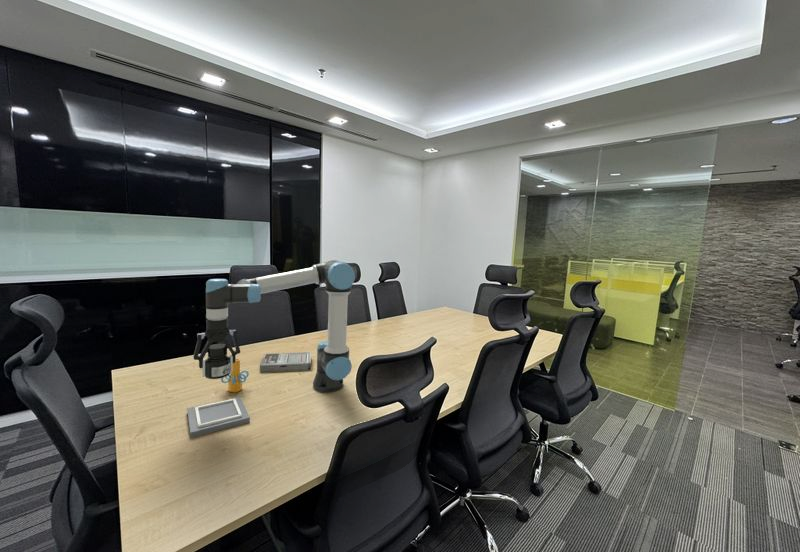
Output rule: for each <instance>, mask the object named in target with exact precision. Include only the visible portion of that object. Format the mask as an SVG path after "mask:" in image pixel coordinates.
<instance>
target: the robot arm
mask: <svg viewBox="0 0 800 552" xmlns="http://www.w3.org/2000/svg"><path fill="white" fill-rule="evenodd" d="M355 276H356V275H355V271H354V269H353V267H352V266H351V265H349V263H347V262H344V261H340V260H336V259H335V260H328V261H325V262H320V263H317V264H312V266H311V267H307V268H302V269H295V270H290V271H287V272H281V273H275V274H269V275H264V276H258V277H255V278H249V279H248V278H243V279H240V280H239V281H237V282H236V284H233V283H229V280H228V279H226V278H210V279H208V280H207V281H206V282H205V286H206V287H205V309H206V310H205V311H206V314H205V318H206V319H205V320H206V321H205V323H206V329H205V332H201V333H199V332H198V333H196V337H197V341H196V345H195V349H194V353H193V357H192V358H193V360H195V361H197V360H198V368H199V369H202V370H201V371H202V377H205V360H206V359H205V356H206V355H207V354H208V349H209V347H210V345H213V343H216V342H217V343H218V342H224V344H226V346H227V350H228V351H229V352H230V353H231V354H229V356H228V357H229V358H230V372H233V363H235V358H236V356H237V355H239V354H241V349H240V344H239V340H238V337H237V336H238V335H237V334H238V331H237V330H236V329H229V318H228V317H229V304H238V303H239V304H243V303H250V304H252V303H258V302H260V301H261V299H262V297H261V296H262V295H261V294H267V293H271V292H272V293H273V292H277V291H282V290H287V289H291V288H296V287H302V286H306V285H312V284H316V285H321V284H325V292H326V293H327V295H328V307H327V308H328V310H327V311H328V312H327V313H328V314H327V317H328V318H327V321H328V322H327V340H326V341H325V340H324V341H321V342H319V343H318V344H317V347H316V350H317V351H316V354H317V355H316V373H315V375H314V379H313V382H312V388H313V390H315V391H316V392H319V393H333V392H337V391H340V390H341V389H342V388H343V387H344V379H345V378H347V376H348V375H350V374H351V372H352V369H353V368H352V367H353V364H352V362H351V360H350V347H348V345H347V335H348V334H347V330H348V302H349V301H348V299H349V298H348V296H349V295H350V293H351V292H352V286H353V284H354V282H355V280H356V277H355ZM229 334H230V336H232V340H233V344H234V348H235V350H234V348H233V347H232V346H231V344H230V342H229V340H228V339H227V337H228V336H229ZM205 337H206V338H207V341H206V343H205V344H204V347H203V349H202V350H201V352H200V349H201V345H202V340H203V339H205ZM199 353H200V355H199ZM205 378H206V377H205Z"/></svg>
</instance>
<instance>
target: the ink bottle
mask: <svg viewBox="0 0 800 552" xmlns="http://www.w3.org/2000/svg"><path fill="white" fill-rule="evenodd" d="M228 375H230V358H229V356H228V347H227V346H226V344H225V343H215V344H214V343H213V344H211V345H210V347H209V349H208V351H207V358H206V359H205V378H206V379H209V380H219V379H220V380H221V378H223V377H224V378H225V377H226V376H227V377H229V376H228ZM224 378H223V379H224Z"/></svg>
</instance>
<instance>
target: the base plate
mask: <svg viewBox="0 0 800 552" xmlns="http://www.w3.org/2000/svg"><path fill="white" fill-rule="evenodd" d="M242 399H243V398H242V397H241V396H239V397H237V396H236V397H234V398H229V399H224V400H219V401H215V402H210V403H206V404H201V405H195V406H193V407H188V408H187V411H186V412H187V419H188V427H189V428H188V429H189V435H190V437H189V438H195V437H199V436H202V435H207V434H209V433H210V434H211V433H215V432H218V431H222V430H226V429H229V428H234V427H236V426H237V427H238V426H240V425H245V424H248V423H250V422H251V419H250V418H251V416H250V415H249V413H248V410H247V408H246V406H245V403H244V402H243V400H242Z"/></svg>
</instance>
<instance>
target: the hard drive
mask: <svg viewBox="0 0 800 552" xmlns="http://www.w3.org/2000/svg"><path fill="white" fill-rule="evenodd" d="M311 364H312V352H310V351H307V352H282V353H281V352H280V353H265V354H263V357H262V359H261V361H260V363H259V373H276V372H278V373H279V372H294V371H311V369H312V368H311V366H312V365H311Z"/></svg>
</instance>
